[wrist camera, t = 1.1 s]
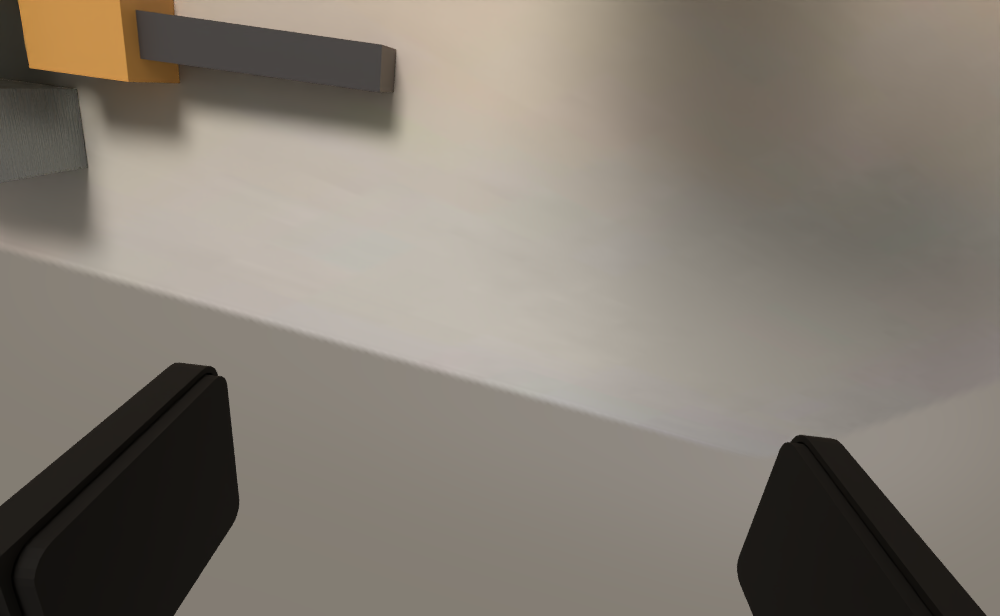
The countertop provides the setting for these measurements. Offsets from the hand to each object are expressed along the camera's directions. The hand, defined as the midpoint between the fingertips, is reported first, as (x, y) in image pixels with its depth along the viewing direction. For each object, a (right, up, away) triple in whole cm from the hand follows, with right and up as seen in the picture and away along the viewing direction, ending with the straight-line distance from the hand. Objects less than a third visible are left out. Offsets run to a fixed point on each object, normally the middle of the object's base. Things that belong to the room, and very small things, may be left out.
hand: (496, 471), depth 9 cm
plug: (-13, +16, +18) cm, 28 cm away
